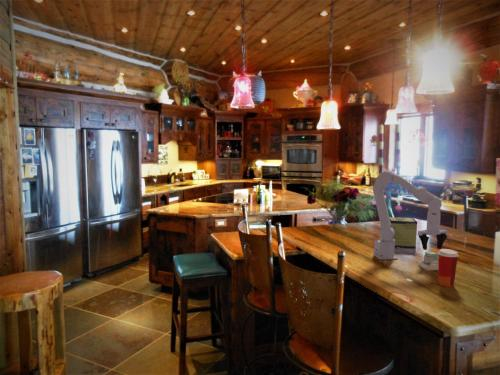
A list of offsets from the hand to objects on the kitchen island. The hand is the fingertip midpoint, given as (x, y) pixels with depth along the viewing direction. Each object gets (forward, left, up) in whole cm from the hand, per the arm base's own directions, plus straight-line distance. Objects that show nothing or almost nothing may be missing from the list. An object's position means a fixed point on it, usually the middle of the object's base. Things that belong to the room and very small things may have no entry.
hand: (431, 249), depth 186 cm
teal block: (0, 0, -7) cm, 7 cm away
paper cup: (-12, -27, -7) cm, 31 cm away
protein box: (+2, +32, -7) cm, 32 cm away
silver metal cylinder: (-6, -7, -6) cm, 11 cm away
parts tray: (-3, -7, -7) cm, 10 cm away
